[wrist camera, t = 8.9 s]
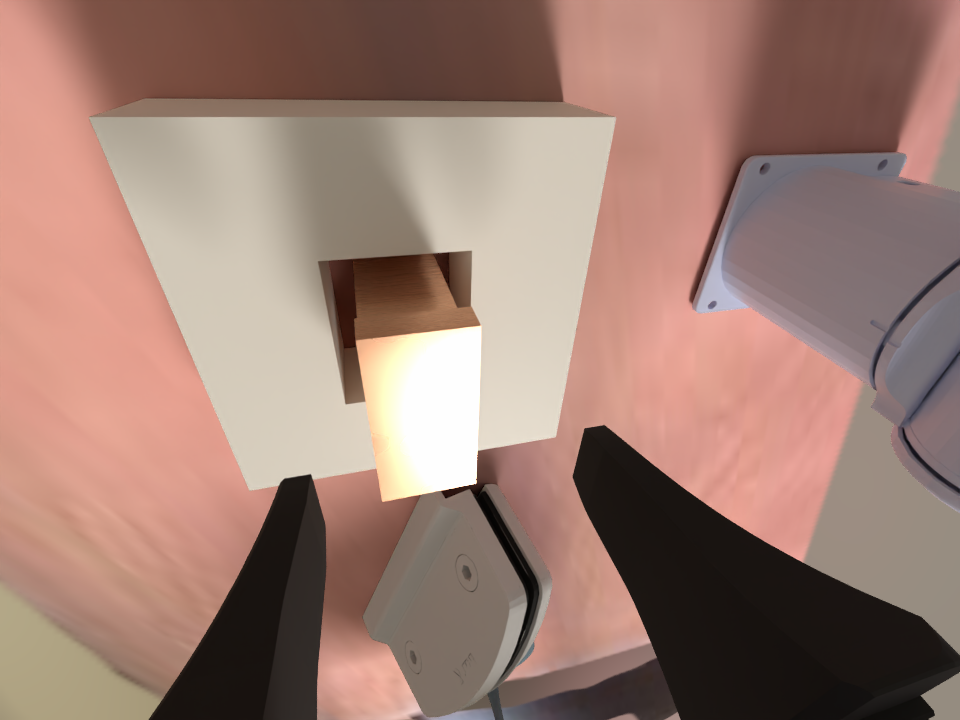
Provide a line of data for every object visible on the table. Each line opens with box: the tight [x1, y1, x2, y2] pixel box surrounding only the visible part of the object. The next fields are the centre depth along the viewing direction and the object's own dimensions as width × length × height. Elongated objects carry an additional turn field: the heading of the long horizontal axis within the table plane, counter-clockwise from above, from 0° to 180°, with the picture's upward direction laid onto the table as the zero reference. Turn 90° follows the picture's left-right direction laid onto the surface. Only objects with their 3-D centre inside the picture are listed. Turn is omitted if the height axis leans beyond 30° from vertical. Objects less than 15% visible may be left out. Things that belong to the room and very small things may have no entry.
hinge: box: [362, 484, 552, 717], centre depth 30 cm, size 17×5×10 cm, turn 157°
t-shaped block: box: [353, 253, 481, 502], centre depth 16 cm, size 3×6×9 cm, turn 178°
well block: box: [89, 98, 616, 491], centre depth 18 cm, size 14×14×4 cm
